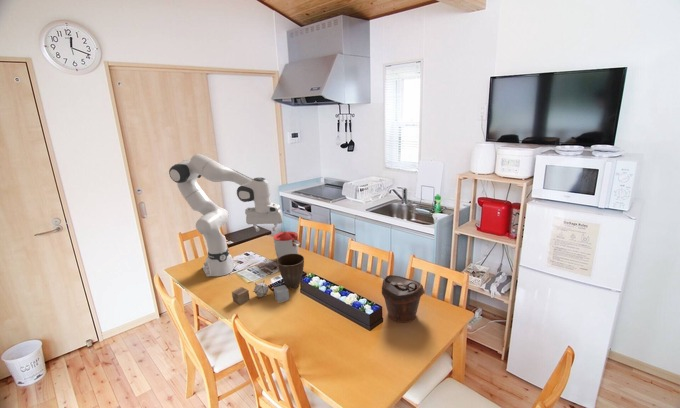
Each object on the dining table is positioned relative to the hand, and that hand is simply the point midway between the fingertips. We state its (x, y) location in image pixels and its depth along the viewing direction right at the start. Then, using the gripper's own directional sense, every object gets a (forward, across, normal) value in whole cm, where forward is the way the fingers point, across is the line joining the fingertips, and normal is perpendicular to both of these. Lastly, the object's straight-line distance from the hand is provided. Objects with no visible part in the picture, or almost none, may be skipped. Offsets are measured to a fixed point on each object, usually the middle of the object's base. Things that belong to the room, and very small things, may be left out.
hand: (266, 230), depth 185 cm
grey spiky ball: (+31, -1, -17) cm, 35 cm away
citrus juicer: (+31, +5, +27) cm, 41 cm away
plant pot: (+31, +14, -6) cm, 34 cm away
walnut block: (+31, -11, -21) cm, 39 cm away
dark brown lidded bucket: (+31, +71, -35) cm, 85 cm away
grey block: (+31, +10, -19) cm, 38 cm away
